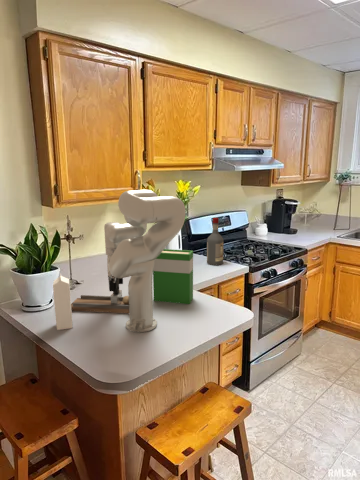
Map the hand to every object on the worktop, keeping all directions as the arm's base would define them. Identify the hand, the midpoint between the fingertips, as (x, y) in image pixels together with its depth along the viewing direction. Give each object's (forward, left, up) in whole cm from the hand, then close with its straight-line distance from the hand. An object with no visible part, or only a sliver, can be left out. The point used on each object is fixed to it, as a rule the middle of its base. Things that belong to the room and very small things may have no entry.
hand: (116, 287), depth 160 cm
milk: (-20, +16, -10) cm, 27 cm away
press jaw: (0, 0, -8) cm, 8 cm away
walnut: (0, -4, -6) cm, 8 cm away
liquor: (+77, -42, -10) cm, 89 cm away
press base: (0, +5, -10) cm, 11 cm away
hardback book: (+13, -24, -10) cm, 29 cm away
